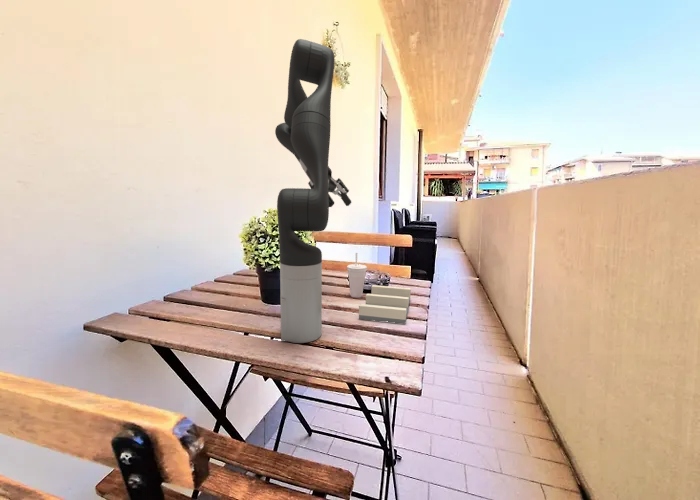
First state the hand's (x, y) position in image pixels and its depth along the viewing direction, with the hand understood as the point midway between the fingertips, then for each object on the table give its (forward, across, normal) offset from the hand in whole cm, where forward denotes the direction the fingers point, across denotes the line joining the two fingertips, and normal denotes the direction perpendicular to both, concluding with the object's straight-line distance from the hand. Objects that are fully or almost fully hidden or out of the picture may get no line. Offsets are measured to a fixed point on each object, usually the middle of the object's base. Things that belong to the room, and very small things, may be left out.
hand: (341, 204), depth 106 cm
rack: (+35, -5, +4) cm, 35 cm away
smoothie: (+26, -1, +14) cm, 30 cm away
